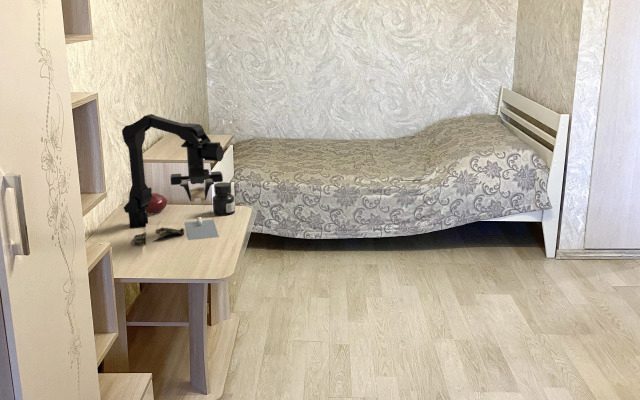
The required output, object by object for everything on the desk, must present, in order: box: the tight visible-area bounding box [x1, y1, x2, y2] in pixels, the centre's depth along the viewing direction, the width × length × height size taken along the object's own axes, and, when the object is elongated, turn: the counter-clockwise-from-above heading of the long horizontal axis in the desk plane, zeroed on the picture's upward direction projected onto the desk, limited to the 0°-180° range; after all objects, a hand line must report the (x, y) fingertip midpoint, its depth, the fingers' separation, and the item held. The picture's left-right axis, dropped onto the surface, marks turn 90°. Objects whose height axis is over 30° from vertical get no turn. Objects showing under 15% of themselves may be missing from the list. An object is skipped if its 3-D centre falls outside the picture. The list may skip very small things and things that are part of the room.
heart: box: [145, 192, 168, 215], centre depth 271 cm, size 12×8×10 cm
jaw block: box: [189, 186, 206, 206], centre depth 243 cm, size 5×6×5 cm
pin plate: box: [184, 216, 220, 241], centre depth 245 cm, size 11×21×4 cm, turn 14°
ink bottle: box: [212, 181, 236, 216], centre depth 267 cm, size 10×9×12 cm
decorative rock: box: [132, 226, 185, 246], centre depth 240 cm, size 19×6×15 cm
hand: (197, 200), depth 244 cm, fingers closed on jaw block, 5 cm apart
